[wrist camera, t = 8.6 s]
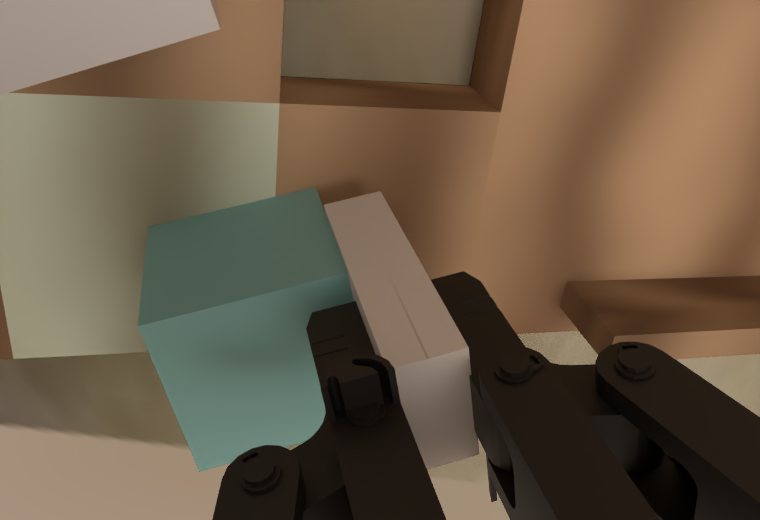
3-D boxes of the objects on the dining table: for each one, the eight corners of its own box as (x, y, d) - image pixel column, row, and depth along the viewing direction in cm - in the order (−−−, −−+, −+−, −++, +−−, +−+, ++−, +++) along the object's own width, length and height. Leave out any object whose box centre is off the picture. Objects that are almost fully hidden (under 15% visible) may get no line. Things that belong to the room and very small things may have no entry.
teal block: (197, 357, 21) (199, 472, 17) (148, 226, 18) (137, 326, 14) (344, 318, 21) (378, 421, 17) (315, 187, 19) (347, 272, 15)
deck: (-62, 311, 21) (-134, 445, 16) (-200, -274, 14) (-393, -334, 9) (846, 281, 29) (969, 362, 25) (1035, -86, 23) (1252, -69, 18)
